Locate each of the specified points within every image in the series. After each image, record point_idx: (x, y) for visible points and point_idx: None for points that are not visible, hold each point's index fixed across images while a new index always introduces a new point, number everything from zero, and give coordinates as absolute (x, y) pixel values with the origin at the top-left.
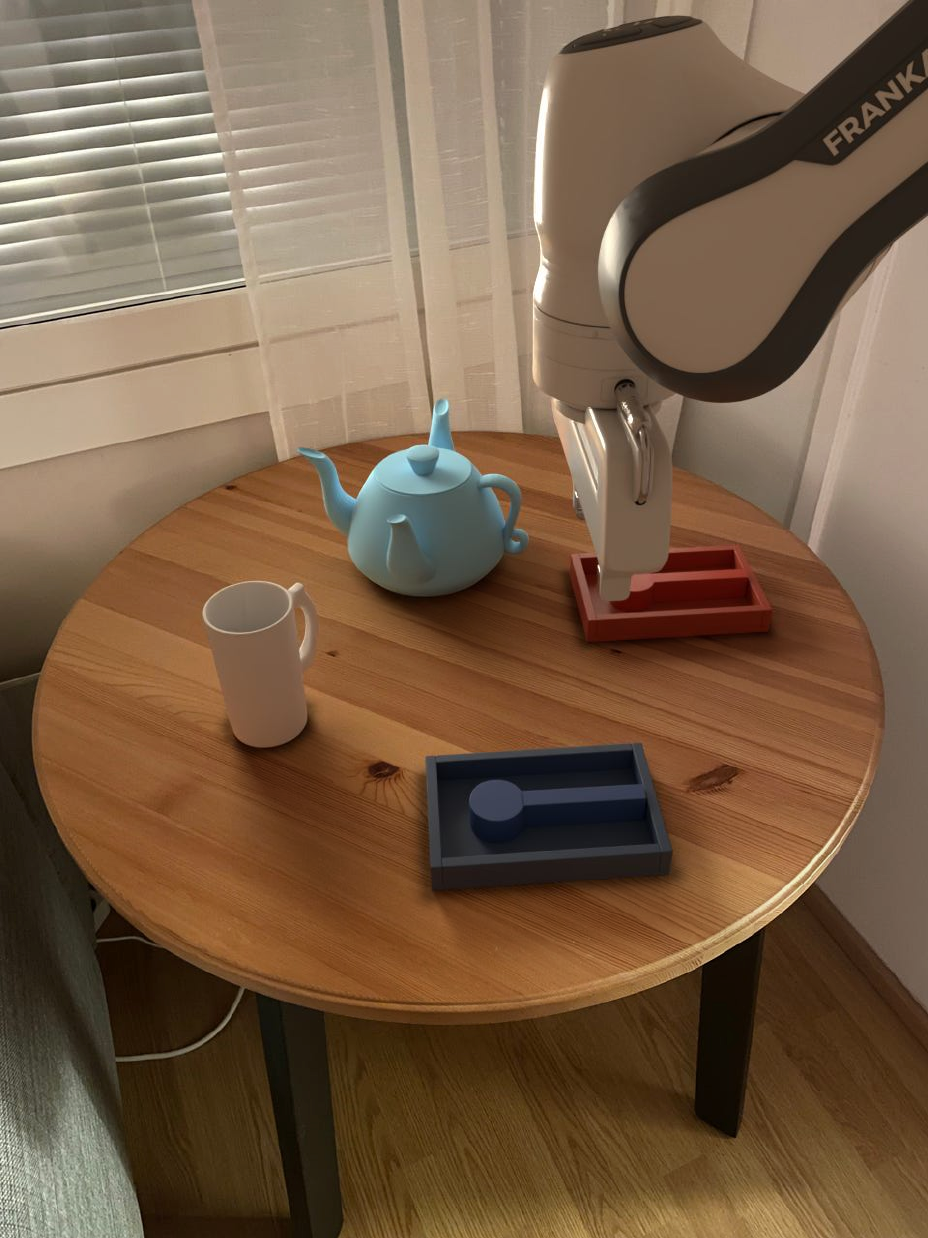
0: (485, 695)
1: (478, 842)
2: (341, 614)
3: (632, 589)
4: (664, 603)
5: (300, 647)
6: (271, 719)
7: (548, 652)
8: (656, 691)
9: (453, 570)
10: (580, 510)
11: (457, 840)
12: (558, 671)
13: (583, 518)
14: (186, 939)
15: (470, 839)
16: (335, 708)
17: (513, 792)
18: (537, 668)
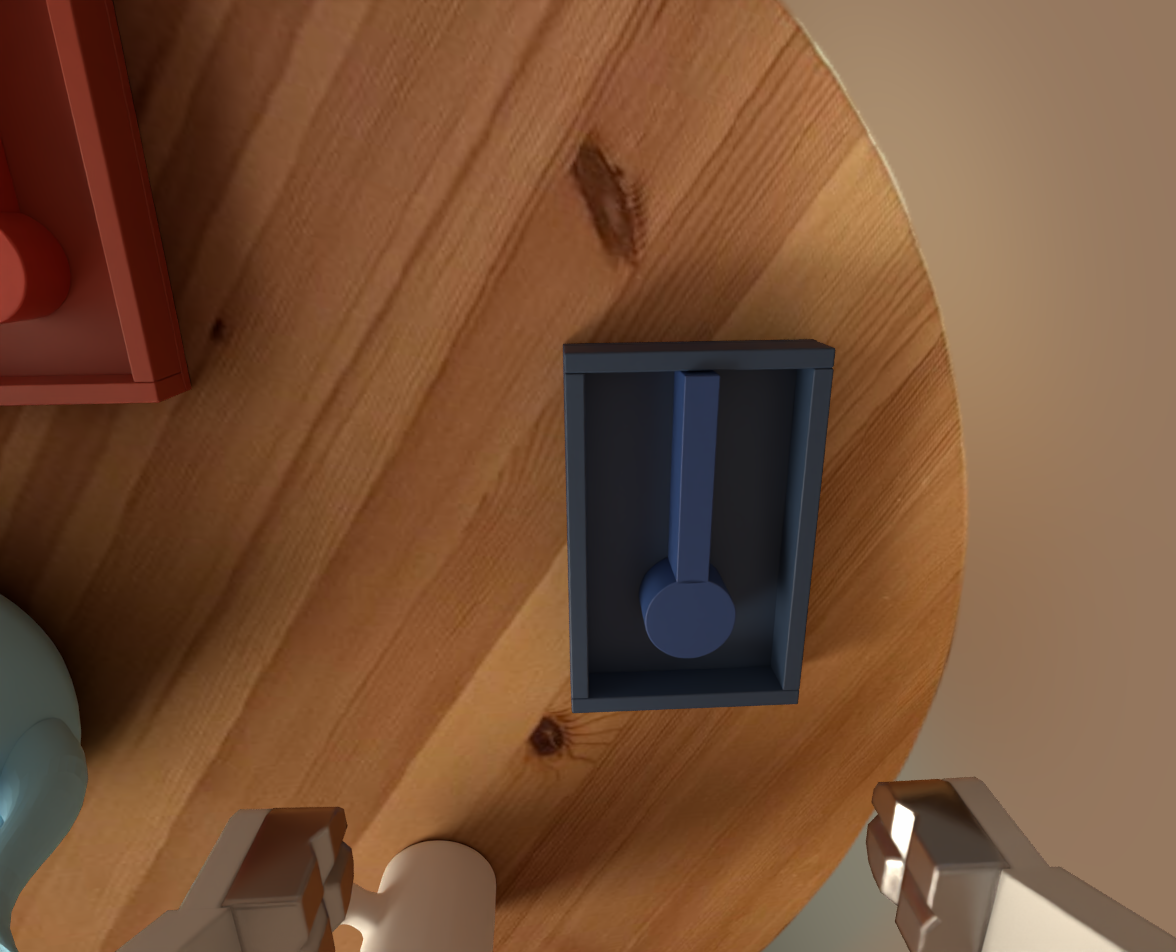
0: (371, 591)
1: None
2: (153, 816)
3: (16, 277)
4: (18, 179)
5: None
6: (489, 921)
7: (233, 471)
8: (349, 265)
9: (25, 685)
10: (338, 912)
11: None
12: (294, 457)
13: (349, 861)
14: (800, 910)
15: None
16: (408, 805)
17: (678, 594)
18: (287, 496)
